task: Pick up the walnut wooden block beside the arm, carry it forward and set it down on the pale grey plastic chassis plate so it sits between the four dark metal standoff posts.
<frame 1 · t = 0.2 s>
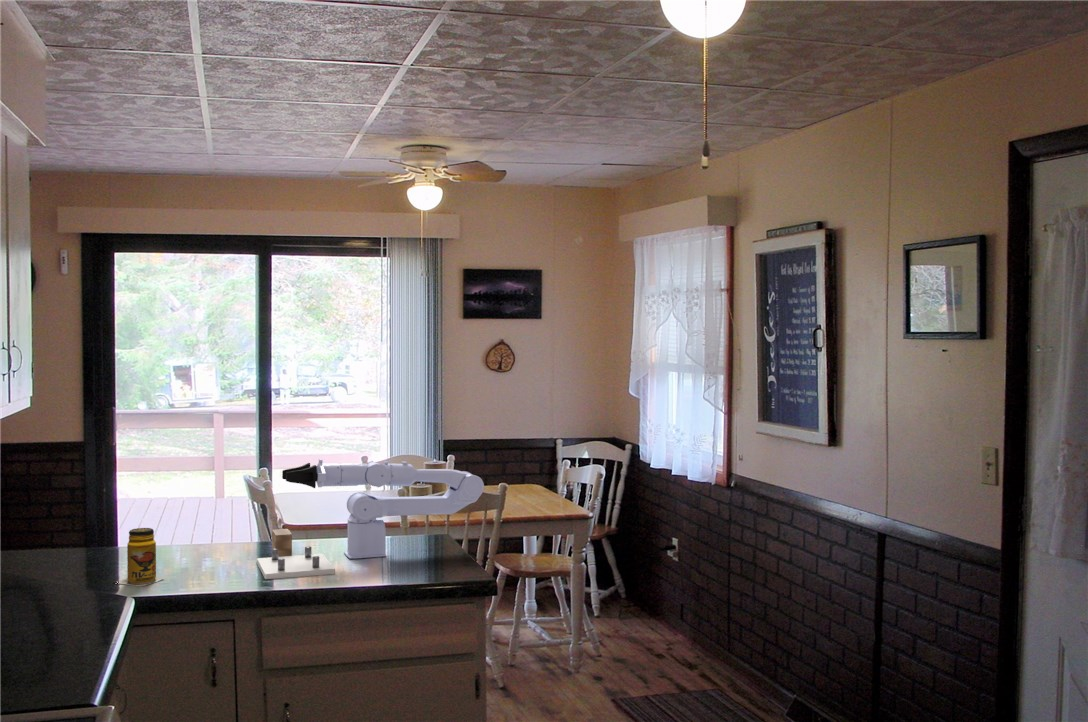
hand: (284, 475, 253), 21 cm above the worktop, fingers open, 7 cm apart
condiment: (139, 582, 232), on the worktop
chassis: (295, 568, 245), on the worktop
walnut block: (281, 555, 261), on the worktop
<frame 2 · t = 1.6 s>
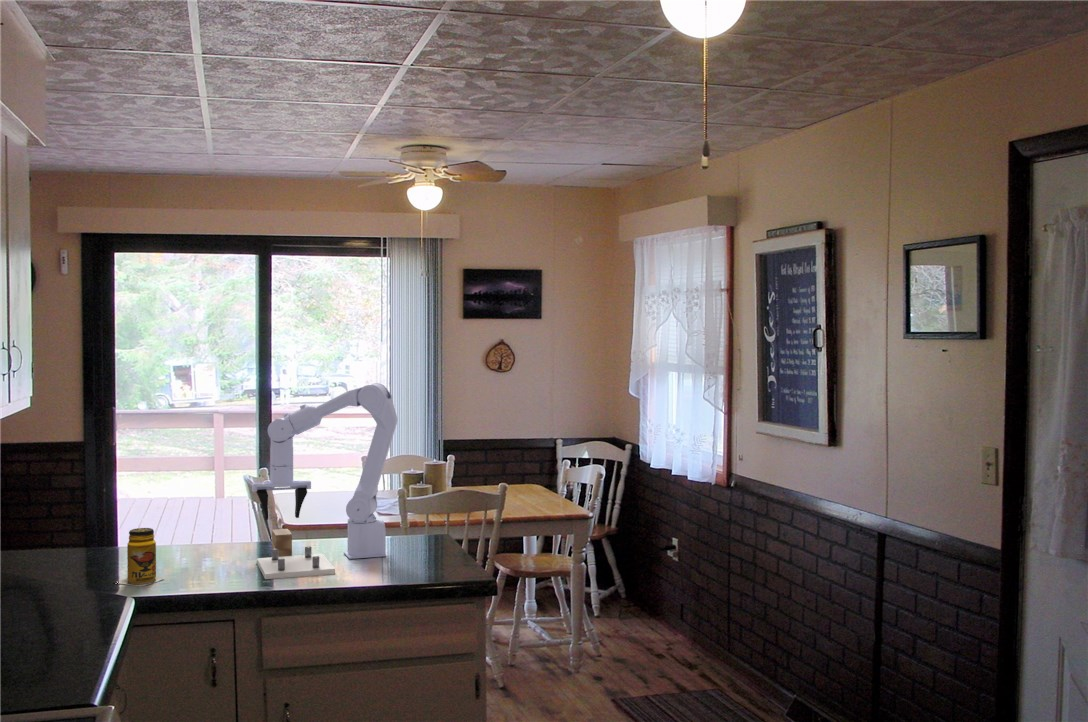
hand: (281, 518, 261), 9 cm above the worktop, fingers open, 7 cm apart
nothing on the worktop moved.
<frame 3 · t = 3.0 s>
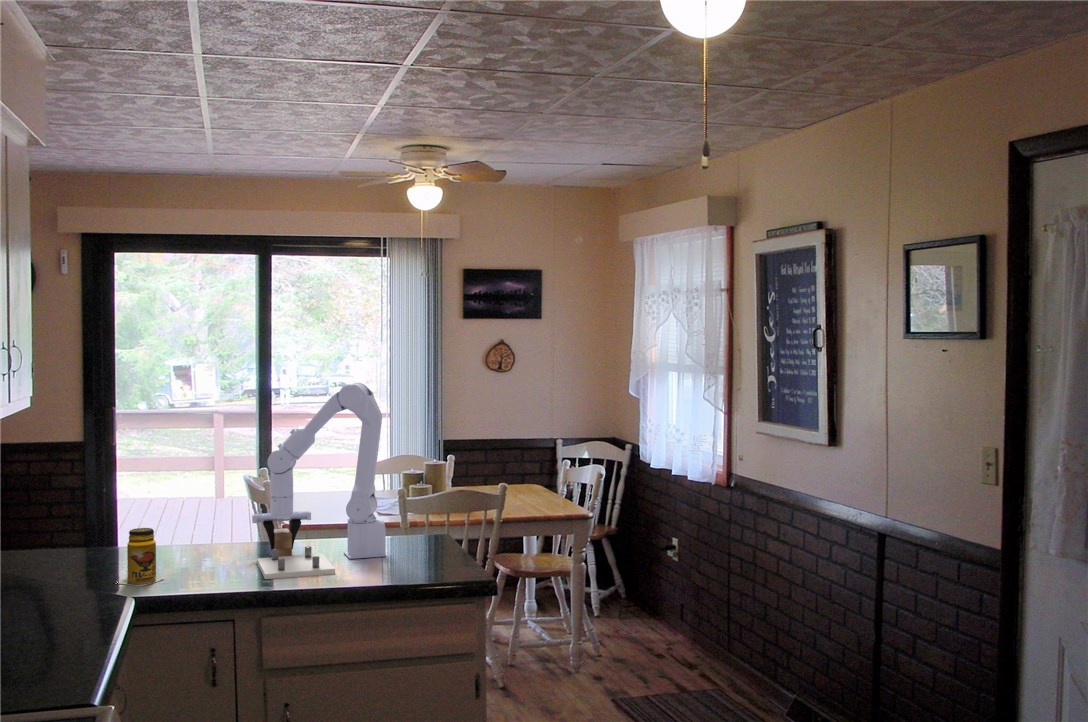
hand: (281, 549, 261), 1 cm above the worktop, fingers closed on walnut block, 4 cm apart
walnut block: (281, 554, 261), on the worktop, touching gripper
everything else where it was.
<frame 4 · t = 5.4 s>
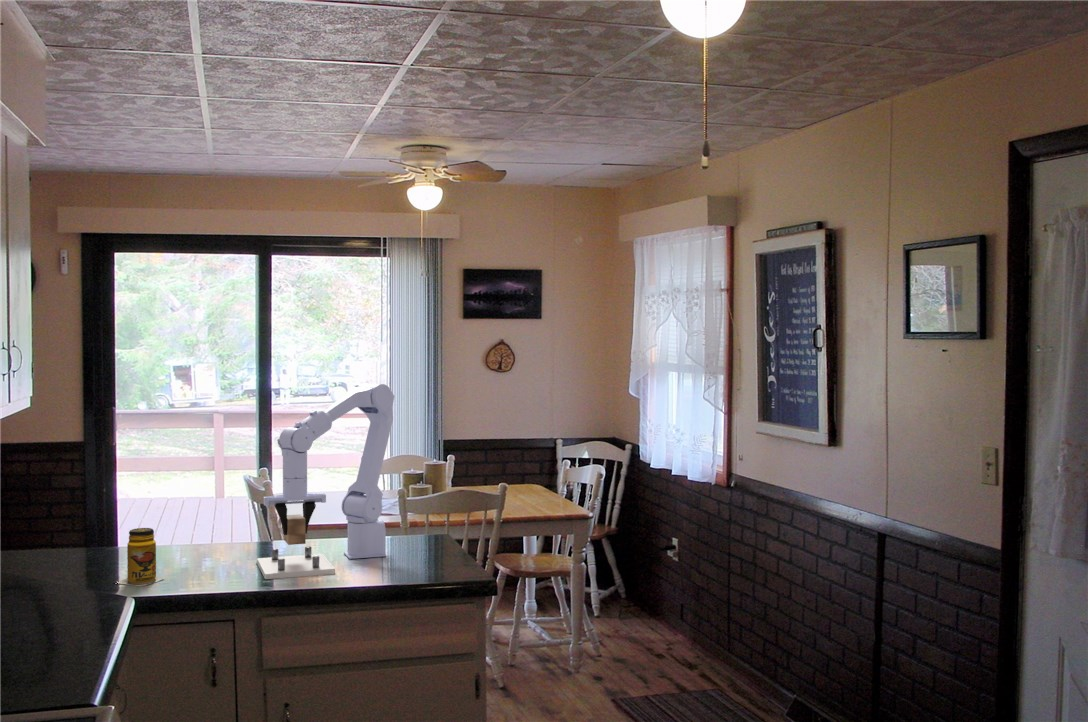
hand: (295, 533, 245), 8 cm above the worktop, fingers closed on walnut block, 4 cm apart
walnut block: (294, 541, 246), point 6 cm above the worktop, touching gripper
everything else where it was.
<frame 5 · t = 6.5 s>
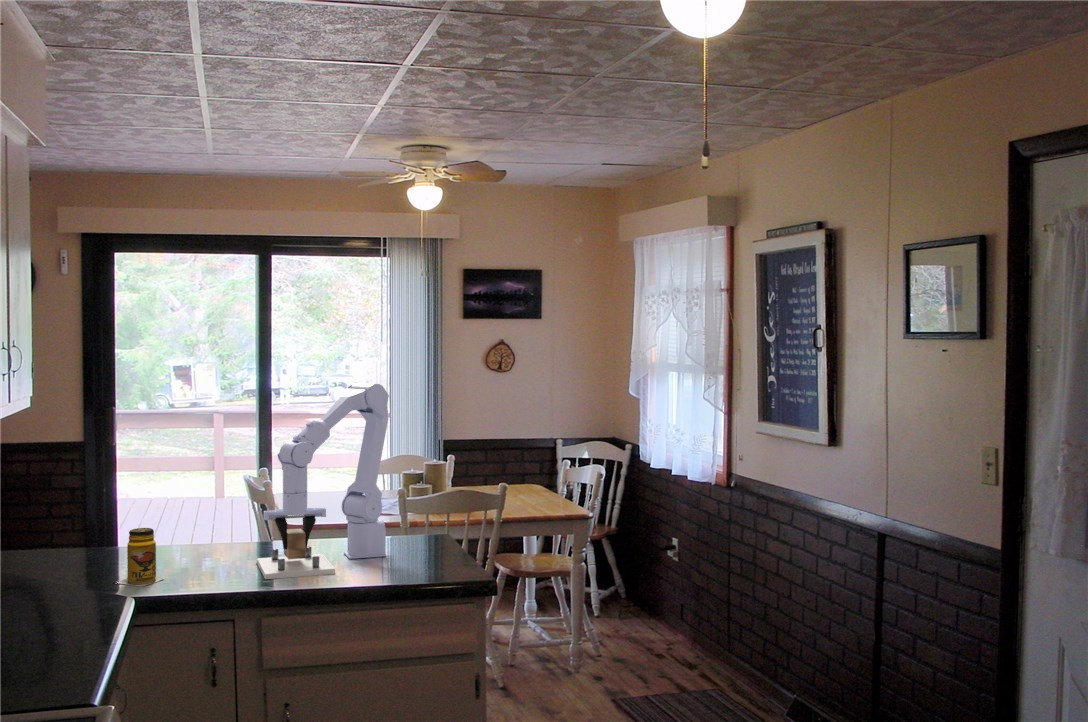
hand: (295, 548, 245), 5 cm above the worktop, fingers closed on walnut block, 4 cm apart
walnut block: (294, 556, 246), point 3 cm above the worktop, touching gripper
everything else where it was.
when the fingers open (3 cm above the worktop, at t = 7.7 s): walnut block stays where it is, resting on chassis.
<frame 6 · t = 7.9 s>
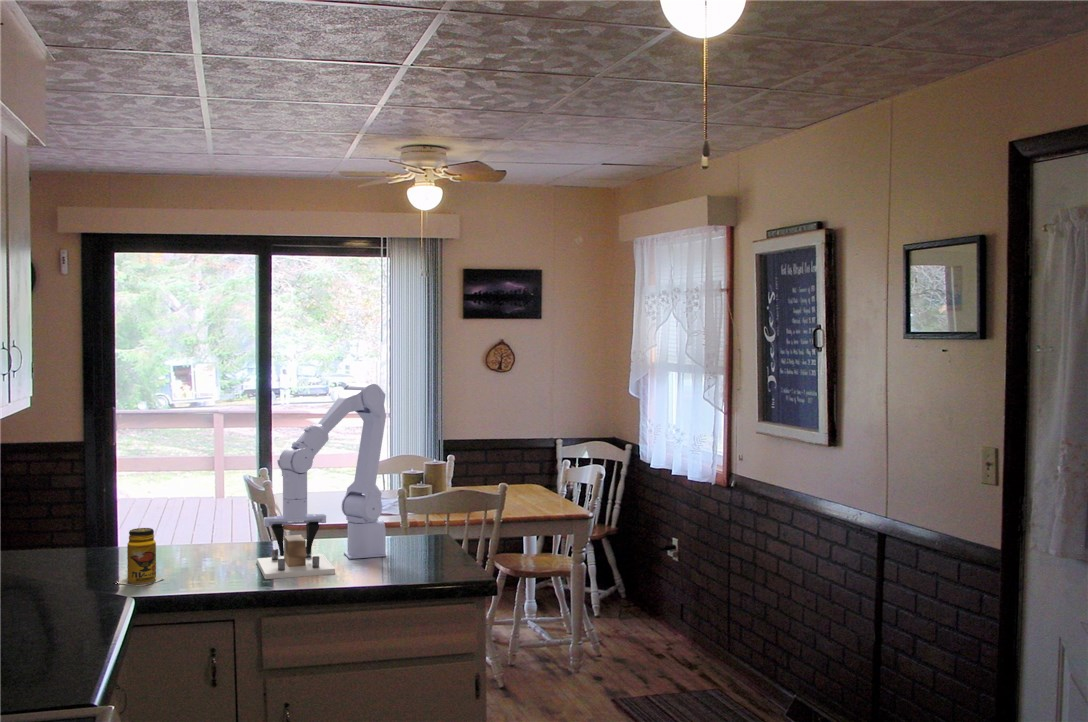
hand: (295, 554, 245), 3 cm above the worktop, fingers open, 6 cm apart
walnut block: (294, 562, 246), point 1 cm above the worktop, touching chassis
everything else where it was.
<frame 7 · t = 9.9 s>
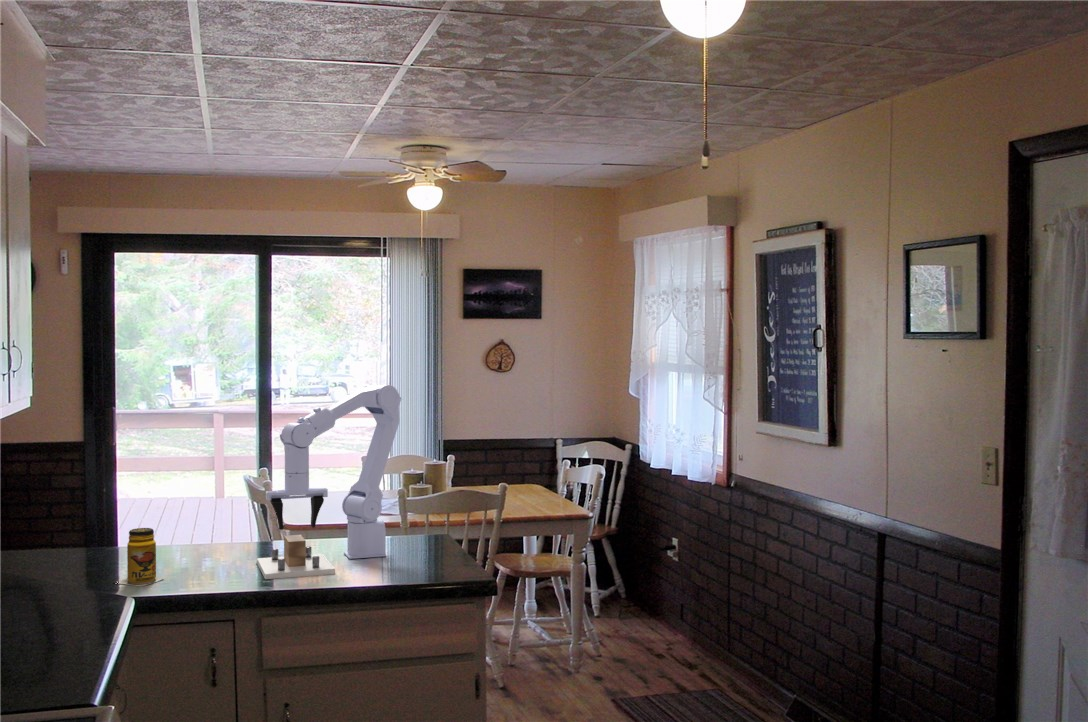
hand: (297, 527, 248), 9 cm above the worktop, fingers open, 7 cm apart
nothing on the worktop moved.
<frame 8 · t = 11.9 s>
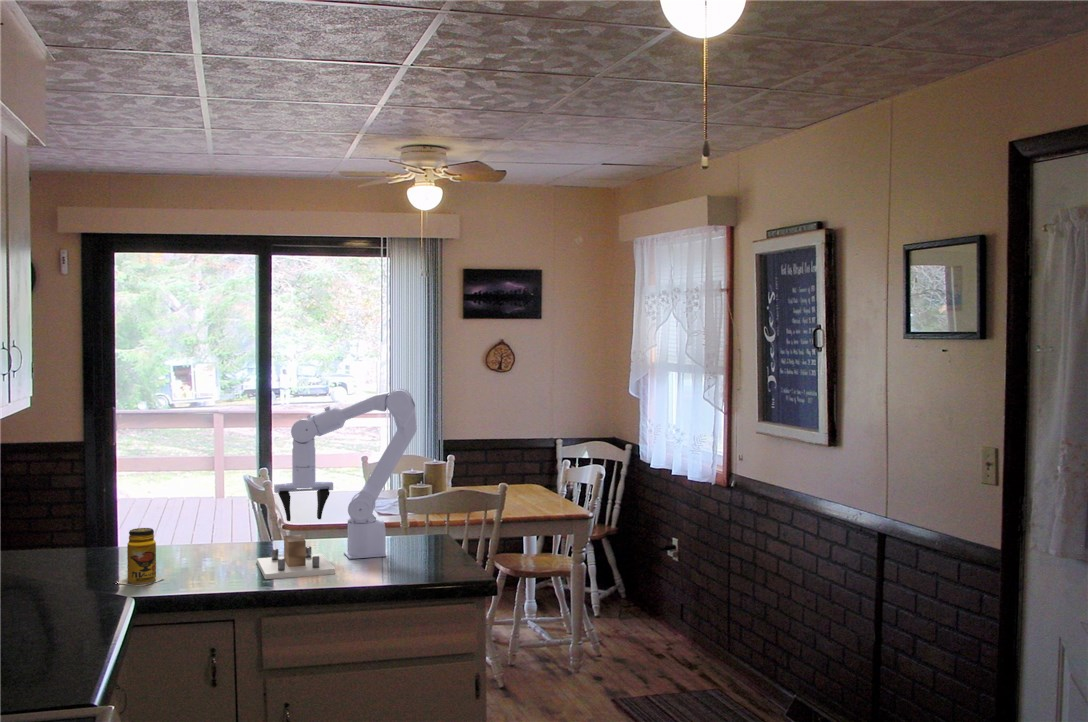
hand: (303, 519, 259), 9 cm above the worktop, fingers open, 7 cm apart
nothing on the worktop moved.
at the end: walnut block 0.6 cm off-centre on the chassis, point 1.2 cm above the chassis's base; walnut block tilted 0°; the gripper is holding nothing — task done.
